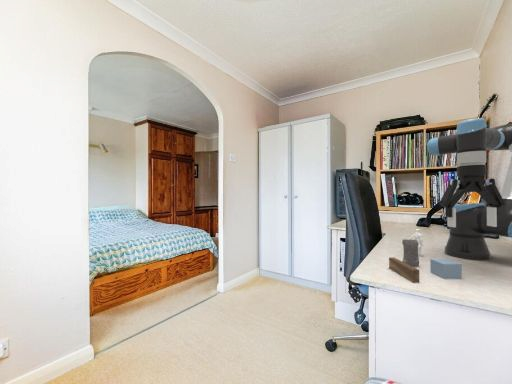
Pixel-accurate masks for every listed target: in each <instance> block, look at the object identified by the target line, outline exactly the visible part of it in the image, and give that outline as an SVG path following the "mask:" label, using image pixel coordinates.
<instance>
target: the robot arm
mask: <svg viewBox="0 0 512 384" xmlns="http://www.w3.org/2000/svg"><path fill="white" fill-rule="evenodd" d="M426 149H427V152H428V154H429V155H431V156H442V155H443V156H444V155H451V154H456V165H457V167H456V176H457V177H458V179H456V178H454V179H453V178H452V179H450V178H449V179H448V181H447V186H446V187H447V188H446V189H445V191H444V192H443V195H442V197H441V199H440V201H439V204H438V205H439V206H440V207H442V208H444V209H445V217H446V219H447V225H446V226H447V227H449V237H448V240H447V241H446V245H445V246H444V253H445V254H446V255H449V256H452V257H456V258H461V259H465V260H466V259H467V260H477V261H479V260H480V261H485V260H490V259H491V252H490V250H489V247H488V244H487V242H486V240H485V239H486V238H485V235H489V236H498V237H506V238H511V239H512V155H511V157H510V160H509V164H508V167H507V170H506V175H505V179H504V182H503V185H502V189H501V193H500V191H499V189H498V187H497V186H496V179H495V178H485V176H487V165H486V163H487V151H509V152H510V153H512V123H508V124H502V125H497V126H494V127H491V128H490V127H488V124H487V121H486V119H485V118H482V117H477V118H476V117H475V118H470V119H469V118H468V119H465V120H461V121H459V122H458V123H457V125H456V131H455V134H448V135H442V136H437V137H433V138H430V139H428V141H427V144H426ZM473 192H474V193H477V194H478V195H479V196H480V197H481V198H482V199H483V201H484V202H485V203H486V204H487V205H488V206H486V204H485V203H484V202H476V203H462V204H461V203H459V204H458V202H459V201H460V199H462V198H463V196H464V195H465V194H467V193H473Z"/></svg>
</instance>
